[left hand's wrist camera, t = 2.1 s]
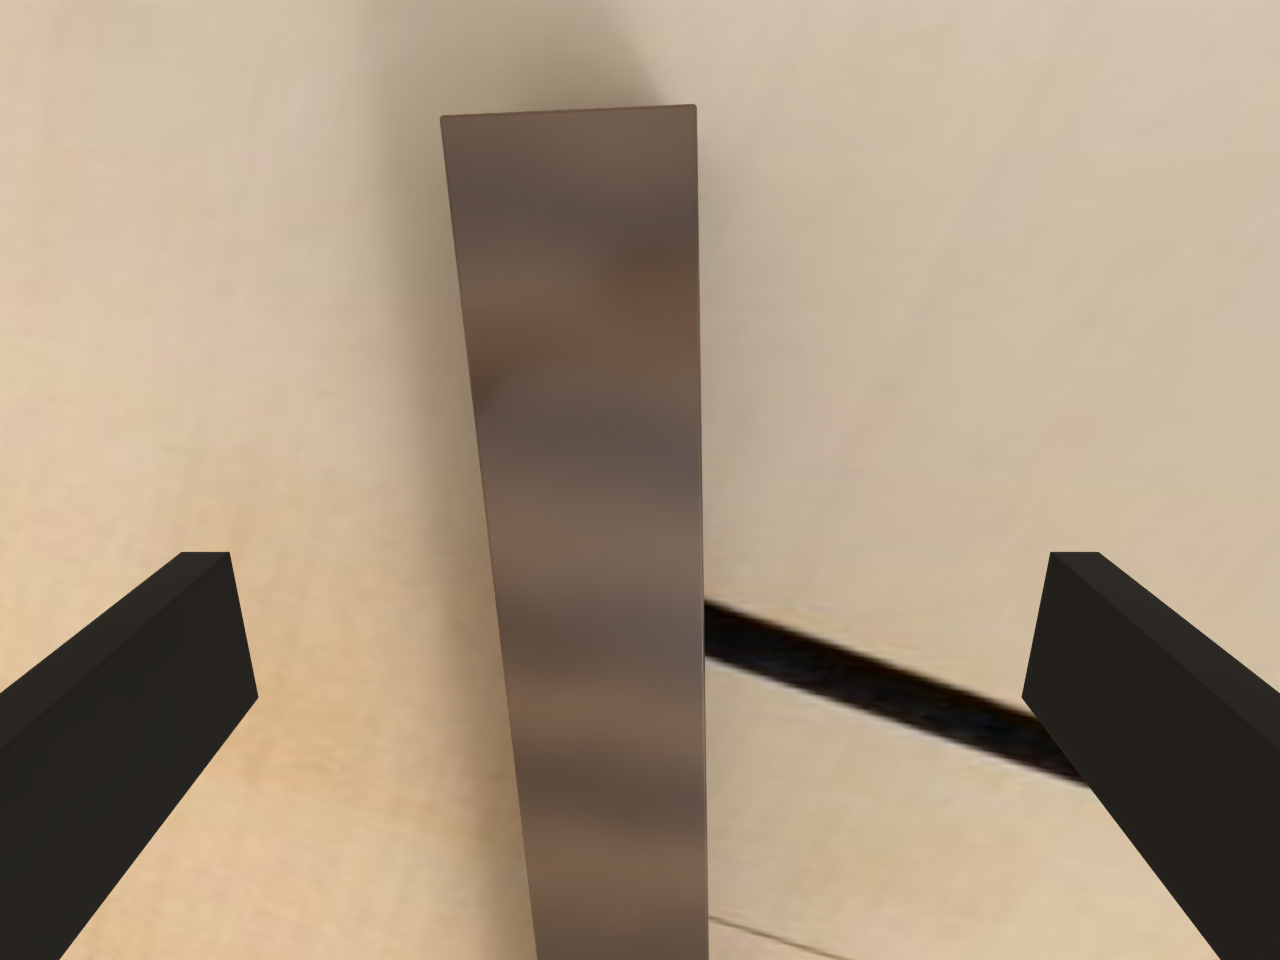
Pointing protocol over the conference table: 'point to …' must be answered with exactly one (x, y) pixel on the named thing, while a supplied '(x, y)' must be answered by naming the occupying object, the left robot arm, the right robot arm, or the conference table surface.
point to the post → (593, 506)
